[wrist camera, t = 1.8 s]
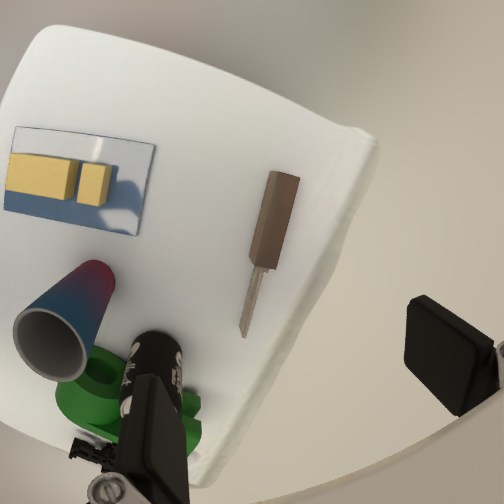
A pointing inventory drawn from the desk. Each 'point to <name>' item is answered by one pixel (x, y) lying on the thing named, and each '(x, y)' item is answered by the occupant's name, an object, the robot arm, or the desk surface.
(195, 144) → the desk surface
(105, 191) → the butter pat
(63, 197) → the butter bar
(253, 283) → the knife
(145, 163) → the butter plate
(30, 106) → the desk surface
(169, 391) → the beverage can
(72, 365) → the cup
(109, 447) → the toy
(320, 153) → the desk surface
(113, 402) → the tape dispenser
